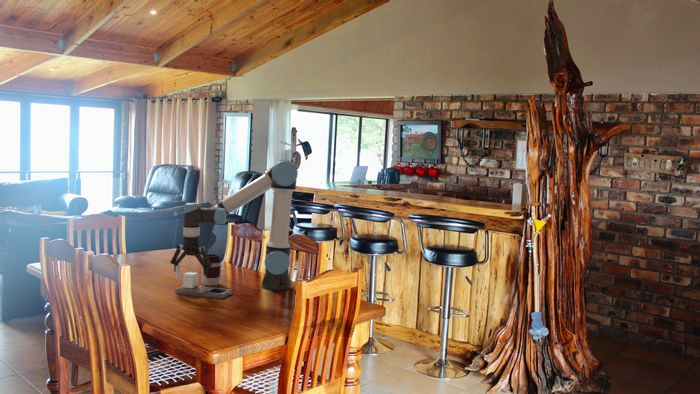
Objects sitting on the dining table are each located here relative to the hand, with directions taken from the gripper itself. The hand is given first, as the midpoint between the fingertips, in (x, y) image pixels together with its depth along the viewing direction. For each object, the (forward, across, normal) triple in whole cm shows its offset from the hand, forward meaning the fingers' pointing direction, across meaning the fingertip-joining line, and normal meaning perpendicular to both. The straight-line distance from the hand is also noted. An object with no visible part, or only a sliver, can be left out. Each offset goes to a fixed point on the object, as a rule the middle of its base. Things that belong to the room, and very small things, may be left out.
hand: (190, 280), depth 278 cm
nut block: (+6, 0, 0) cm, 6 cm away
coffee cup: (+6, -1, -19) cm, 20 cm away
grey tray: (+6, -7, 0) cm, 9 cm away
